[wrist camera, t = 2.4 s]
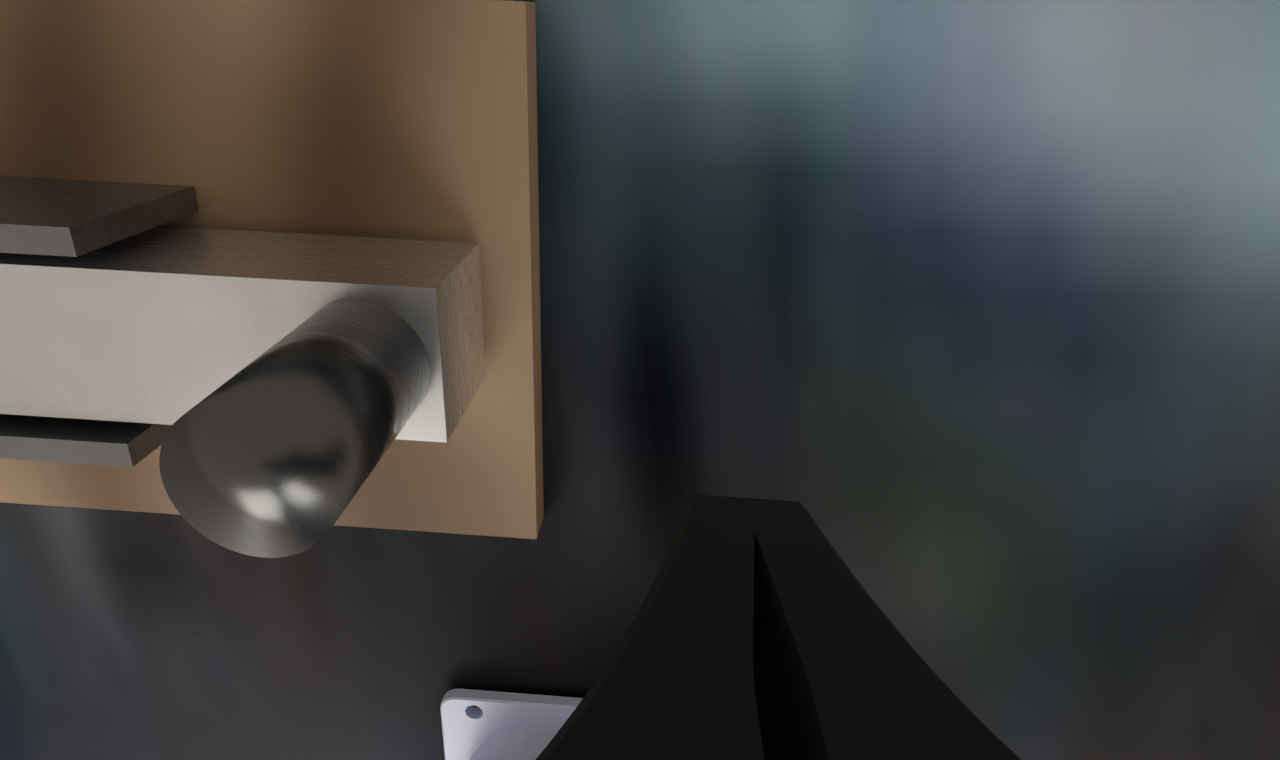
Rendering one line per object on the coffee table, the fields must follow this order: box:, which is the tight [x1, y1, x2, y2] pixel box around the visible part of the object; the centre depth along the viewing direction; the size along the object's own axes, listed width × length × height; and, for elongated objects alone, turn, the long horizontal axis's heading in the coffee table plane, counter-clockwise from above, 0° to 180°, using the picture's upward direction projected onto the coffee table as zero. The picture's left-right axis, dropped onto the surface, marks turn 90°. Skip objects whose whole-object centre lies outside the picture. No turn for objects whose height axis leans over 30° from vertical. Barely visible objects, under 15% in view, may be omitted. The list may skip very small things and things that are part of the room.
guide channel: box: [0, 176, 199, 467], centre depth 16 cm, size 6×5×4 cm
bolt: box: [0, 226, 486, 558], centre depth 14 cm, size 12×3×7 cm, turn 88°
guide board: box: [0, 0, 544, 539], centre depth 18 cm, size 20×12×1 cm, turn 88°
